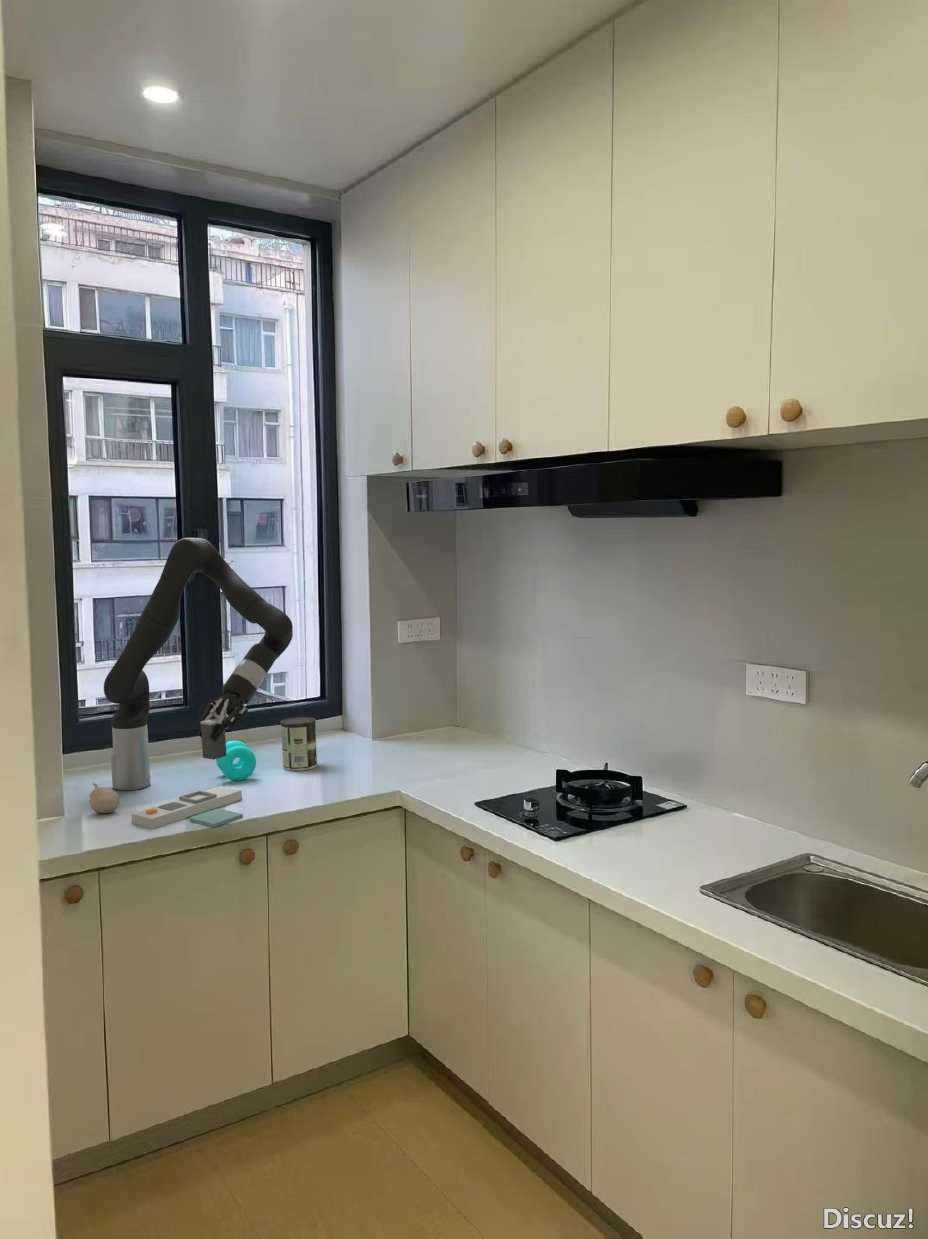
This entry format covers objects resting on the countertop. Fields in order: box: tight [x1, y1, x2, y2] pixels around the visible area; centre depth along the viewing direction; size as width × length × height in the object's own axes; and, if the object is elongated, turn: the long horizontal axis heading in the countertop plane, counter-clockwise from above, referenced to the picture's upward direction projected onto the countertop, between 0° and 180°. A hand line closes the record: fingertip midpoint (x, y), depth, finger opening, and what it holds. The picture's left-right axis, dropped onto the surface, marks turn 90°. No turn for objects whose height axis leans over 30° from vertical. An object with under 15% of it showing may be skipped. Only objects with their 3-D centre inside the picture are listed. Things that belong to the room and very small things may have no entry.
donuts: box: [215, 740, 257, 782], centre depth 269 cm, size 10×10×10 cm
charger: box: [200, 718, 227, 760], centre depth 231 cm, size 4×4×9 cm
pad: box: [188, 807, 244, 828], centre depth 232 cm, size 9×9×1 cm
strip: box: [130, 785, 243, 829], centre depth 239 cm, size 28×8×3 cm, turn 145°
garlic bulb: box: [89, 782, 121, 814], centre depth 238 cm, size 7×6×8 cm
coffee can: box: [280, 716, 318, 772], centre depth 280 cm, size 10×10×14 cm
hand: (206, 737), depth 229 cm, fingers closed on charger, 4 cm apart
